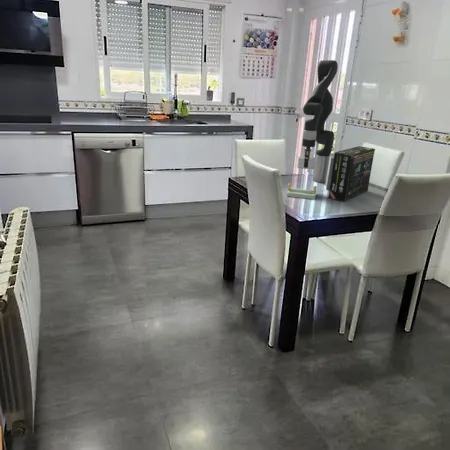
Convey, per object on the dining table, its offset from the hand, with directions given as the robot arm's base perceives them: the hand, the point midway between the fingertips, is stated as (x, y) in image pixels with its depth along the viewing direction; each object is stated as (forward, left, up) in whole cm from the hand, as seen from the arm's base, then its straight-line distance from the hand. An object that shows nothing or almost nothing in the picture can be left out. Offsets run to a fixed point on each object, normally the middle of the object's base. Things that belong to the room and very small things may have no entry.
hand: (306, 166), depth 239 cm
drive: (0, 0, -1) cm, 1 cm away
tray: (+14, 0, -14) cm, 20 cm away
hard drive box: (-14, +17, -15) cm, 26 cm away
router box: (0, +27, -15) cm, 31 cm away
